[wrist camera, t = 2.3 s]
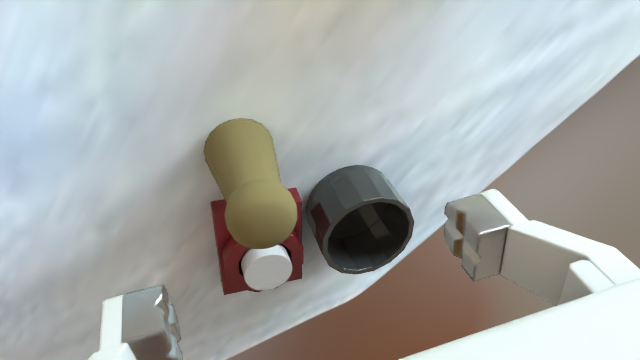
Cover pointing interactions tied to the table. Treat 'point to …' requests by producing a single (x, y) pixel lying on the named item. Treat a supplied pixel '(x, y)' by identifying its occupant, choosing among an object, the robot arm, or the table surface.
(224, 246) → the panel
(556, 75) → the table surface
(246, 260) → the button
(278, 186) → the olive yellow knobbed peg
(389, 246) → the cup
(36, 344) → the table surface
